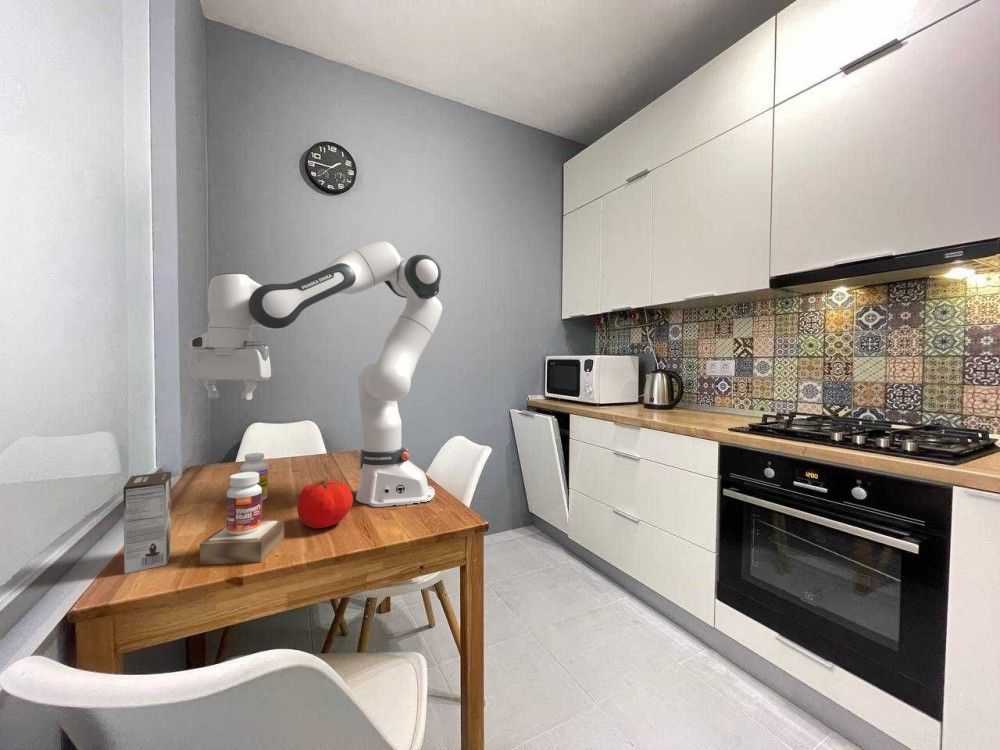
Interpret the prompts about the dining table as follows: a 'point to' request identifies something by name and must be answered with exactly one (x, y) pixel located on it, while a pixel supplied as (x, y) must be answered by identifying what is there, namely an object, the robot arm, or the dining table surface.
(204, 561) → the base
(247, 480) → the pill bottle
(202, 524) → the dining table surface
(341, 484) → the tomato
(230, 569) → the dining table surface
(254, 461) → the supplement bottle
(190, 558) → the dining table surface
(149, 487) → the coffee box
